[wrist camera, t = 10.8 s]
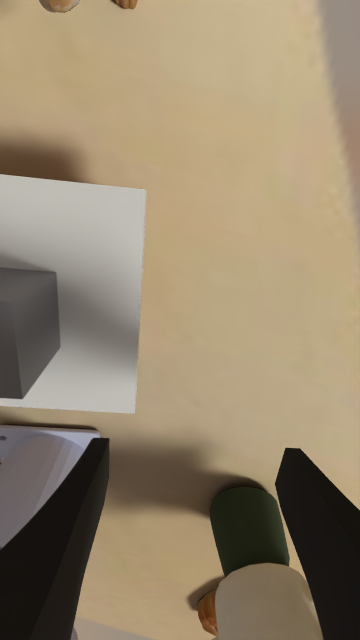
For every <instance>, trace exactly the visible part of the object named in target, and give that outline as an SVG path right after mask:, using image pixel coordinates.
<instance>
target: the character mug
mask: <svg viewBox="0 0 360 640" xmlns="http://www.w3.org/2000/svg"><path fill="white" fill-rule="evenodd" d="M209 510H210V521H211V525H212V530H213V534H214V539H215V543H216V547H217V550H218V554H219V558H220V561H221V565H222V569H223V573H224V575H225V578H224V579H223V580H222V581H221V582H220V583H219V586H218V589H217V591H216V595H215V610H216V619H217V628H218V636H217V637H215V638H213V639H212V640H323V636H322V632H321V628H320V624H319V620H318V617H317V613H316V610H315V606H314V603H313V599H312V595H311V592H310V588H309V585H308V583H307V581H306V580H305V579H304V578H303V576H302V575H301V574H300V573H299V572H298V571H296V570H294V569H292V568H290V567H289V559H290V558H289V553H288V548H287V543H286V538H285V533H284V528H283V523H282V519H281V515H280V511H279V508H278V504H277V501H276V500H275V498H274V497H273V496H272V495H271V494H269V493H267V492H265V491H263V490H261V489H257V488H250V487H237V488H231V489H227V490H225V491H224V492H222V493H221V494H220V495H218V496H217V497H215V499H214V501H213V503H212V505H211V507H210V509H209Z"/></svg>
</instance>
